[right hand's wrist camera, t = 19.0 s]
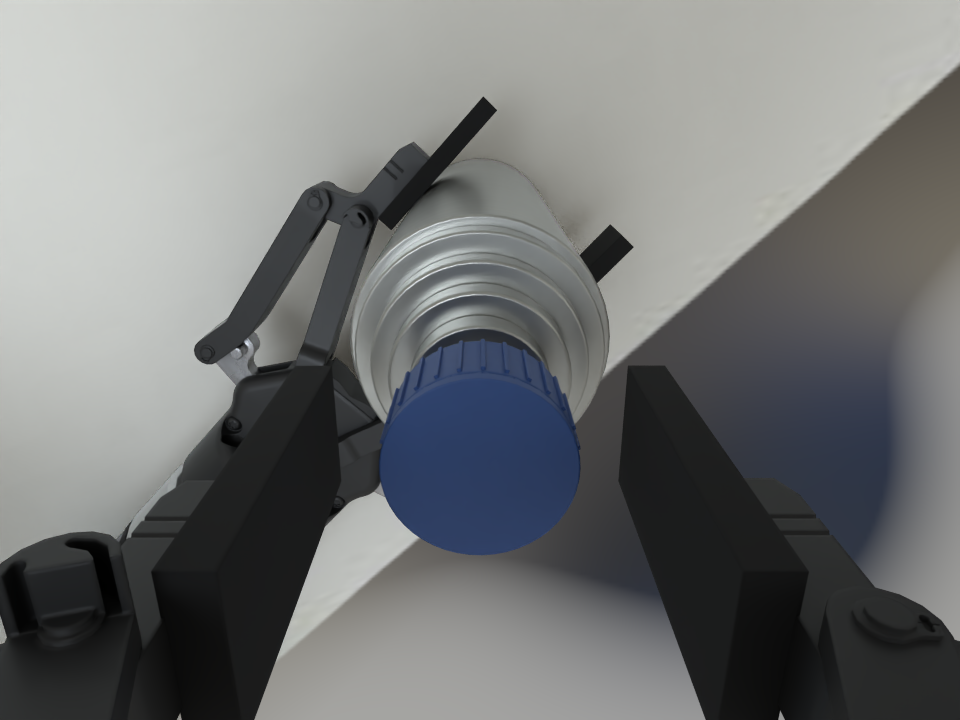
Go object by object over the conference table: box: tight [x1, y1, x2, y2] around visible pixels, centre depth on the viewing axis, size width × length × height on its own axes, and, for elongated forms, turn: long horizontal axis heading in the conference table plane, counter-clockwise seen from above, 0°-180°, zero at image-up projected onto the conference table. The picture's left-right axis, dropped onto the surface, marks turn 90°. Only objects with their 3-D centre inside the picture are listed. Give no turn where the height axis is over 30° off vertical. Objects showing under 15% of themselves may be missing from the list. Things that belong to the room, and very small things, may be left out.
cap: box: [379, 339, 580, 555], centre depth 14 cm, size 4×4×2 cm
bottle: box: [350, 159, 610, 424], centre depth 25 cm, size 7×7×25 cm
